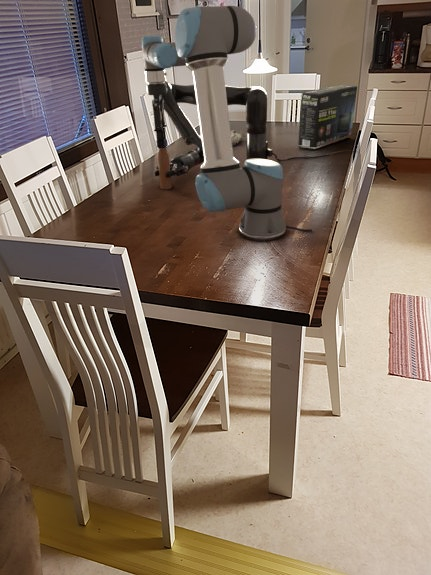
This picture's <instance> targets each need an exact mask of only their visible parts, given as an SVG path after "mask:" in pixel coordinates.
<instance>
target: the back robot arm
mask: <svg viewBox="0 0 431 575" xmlns="http://www.w3.org/2000/svg"><path fill="white" fill-rule="evenodd" d="M164 83H166V85H167V93H166V94H164V95H161V96H162V98H163V100H164V103H163V105H164V113H166V115H167V116H168V117H169V119H170V121H171V122H172V124H173V125H174V127H175V129H176V131H177V133H178V134H179V136H180V137H181V139H182V140H183V142H184V143H185V145H187V146H192V145H195V146H196V147H195V148H193V149H192V150H189V151H186V152H185V153H181V154H179V155H177V156H175V157H172V159H170V171H168V172H166V178H169V177H171V178H172V177H175V176H176V177H180V176H183V175H185V174H188V172H189V171H190V170H192V169H193V168H194V167H197V166H199V165H202V164H203V163H204V153H203V146H202V138H201V135H199V134H198V132H197V131H196V129H195V127H194V125H193V124H192V122H191V121H190V119H189V118H188V117H187V116H186V115H185V113H184V111H183V110H182V109H181V107H180V106H179V104H189V105H194V106H197V102H196V94H195V87H194V84H188V85H182V84H174V83H170V82H167V80H166V81H165V82H164ZM225 88H226V97H227V105H228V106H233V105H234V106H235V105H237V106H245V123H246V125H245V126H246V127H245V128H246V129H245V132H246V133H245V134H246V135H245V137H246V138H245V140H246V142H245V143H246V145H245V146H246V148H245V149H246V156H245V157H246V160H248V159H267V160H269V158H271V157H273V156H274V157H275V159H276V158H278V155H277V154H276V153H275V152H274V149H272V148H269V142H268V141H267V134H268V132H267V128H268V127H267V126H268V94H267V91H266V90H265V88H263V87H261V86H242V87H241V86H240V87H239V86H230V85H225ZM151 96H152V97H153V95H151ZM352 152H353V153H355V154H356V153H357V152H356V151H355V150H354V151H352ZM327 154H328V155H327ZM327 154H323V155H316V156H293V157H288V158H285V159H279V158H278V159H276V161H278V162H283V161H290V160H296V159H298V160H299V159H302V160H303V159H318V158H319V159H320V158H324V157H329V156H330V155H329V154H330V153H327ZM246 160H245V161H246ZM154 177H159V169H158V165H157V166H156V167H155V170H154Z"/></svg>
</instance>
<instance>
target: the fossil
mask: <svg viewBox="0 0 431 575" xmlns="http://www.w3.org/2000/svg"><path fill="white" fill-rule="evenodd" d="M230 131H231V140H232V147H233V146H235V145H237V144H239V143H240V142H241V141H242V140H243V139H242V137H246V135H245V133H244V132H243V131H241V130H237V131H236V130H235V128H230ZM239 141H240V142H239ZM238 142H239V143H238ZM236 143H237V144H236Z"/></svg>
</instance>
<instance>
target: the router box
mask: <svg viewBox="0 0 431 575" xmlns="http://www.w3.org/2000/svg"><path fill="white" fill-rule="evenodd" d="M357 93H358V86H356V85H350V84H339V85H338V84H337V85H334V86H328V87H324V88H318V89H314V90H309V91H304V92H301V93H300V109H299V110H300V111H299V124H298V137H297V146H298V145H302V146H307V147H317V146H320V145H323V144H325V143H328V142H331V141H333V140H336V139H338V138H341V137H344V136H347V135H351V136H352V133H353V132H352V131H353V125H354V115H355V109H356V99H357ZM311 151H313V150H312V149H311Z"/></svg>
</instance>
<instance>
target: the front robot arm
mask: <svg viewBox="0 0 431 575" xmlns="http://www.w3.org/2000/svg"><path fill="white" fill-rule="evenodd" d="M177 16H178V17H177V19H176V24H175V29H174V42H173V41H171V42H164V41H163V37H162V36H161V35H144V36H143V37H141V49H142V50H141V51H142V58H143V65H144V79H145V83H146V84H145V85H146V86H145V87H146V94H147V95H148V96H152V95H153V96H152V98H153V99H152V100H151V105H152V112H153V121H154V129H153V132H154V133H155V135H156V140H157V144H156V147H157V146H158V147H157V149H158V148H165V144H164V139H166V140H167V136H166V128H167V124H166V118H165V110H164V105H163V103H164V100H163V98H162V96H161V95H164V94H166V93H167V85H166V83H164V82H165V81H166V82H167V78H166V76H168V73H167V72H166V69H171V68H174V67H185V66H186V68H187V69H188V70H190V71H191V72H192V78H193V85H194V87H195V94H196V102H197V105H196V109H197V115H198V123H199V131H200V137H201V138H202V146H203V153H204V162H202V163H201V164H200V166H199V167H200V173H199V174H197V175H196V177H195V184H194V185H195V189H196V193H197V197H198V199H199V201H200V204H201V205H202V207H203V208H204V209H205V211H206V210H207V211H208V212H210V213H219V212H225V211H228V210H233V209H238V208H243V207H244V211H243V213H242V216H241V220H240V222H239V226H238V232H239V235H240V236H241V237H242V238H244V239H247V240H250V241H254V242H271V241H277V240H279V239H281V238H283V237H285V235H286V234H287V229H290V230H295V231H299V232H303V233H304V232H306V233H310V232H313V229H312V228H310V229H309V228H308V229H304V228H299V227H295V226H291V225H287V223H286V221H285V216H284V214H283V210H282V200H283V181H284V172H283V171H284V169H283V166H282V164H280V162H277V161H275V160H271V159H268V160H267V159H248V160H245V161H244V163H243V166H241V164H240V161H239V160H238V159H236V158H235V156H234V150H233V146H232V140H231V131H230V129H231V124H230V114H229V105H227V97H226V88H225V86H226V81H225V72H224V71H225V70H224V68H225V65H226V64H227V62H228V61H229V58H228V55H234V54H240V53H243V52H245V51H247V50H249V49H250V48H251V46H252V45H253V44H254V43H255V40H256V37H257V25H256V22H255V20H254V17H253V16H252V14H251V13H250V12H249V11H248V10H246V9H245V8H243V7H241V6H238V5H222V6H218V5H217V6H213V5H212V6H210V5H209V6H200V5H199V6H198V5H197V6H194V7H186V8H184V9H182V10H181V11H180V12H179V15H177Z"/></svg>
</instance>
